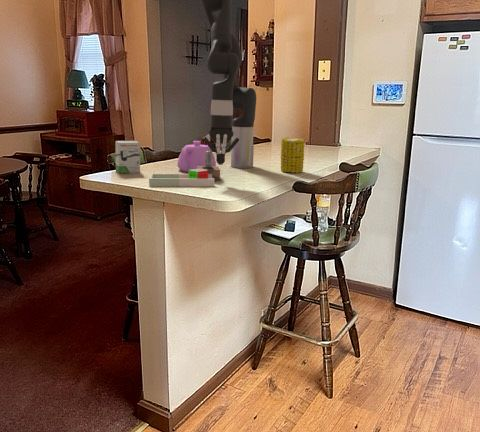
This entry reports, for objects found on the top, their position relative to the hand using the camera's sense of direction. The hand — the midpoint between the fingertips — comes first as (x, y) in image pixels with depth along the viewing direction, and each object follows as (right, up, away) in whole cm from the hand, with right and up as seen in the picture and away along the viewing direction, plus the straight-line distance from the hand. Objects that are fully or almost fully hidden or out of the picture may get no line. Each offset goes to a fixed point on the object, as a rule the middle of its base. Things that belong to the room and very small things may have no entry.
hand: (220, 164), depth 165 cm
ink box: (-37, -1, +19) cm, 41 cm away
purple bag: (-11, 0, +28) cm, 30 cm away
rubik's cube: (-8, -7, 0) cm, 10 cm away
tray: (-19, -7, -1) cm, 20 cm away
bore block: (-5, -4, +10) cm, 12 cm away
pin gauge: (-5, -4, +10) cm, 12 cm away
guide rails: (-9, -7, +1) cm, 11 cm away
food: (+28, 0, +31) cm, 42 cm away
